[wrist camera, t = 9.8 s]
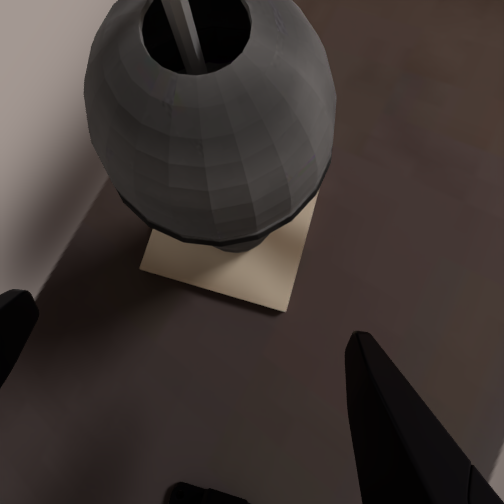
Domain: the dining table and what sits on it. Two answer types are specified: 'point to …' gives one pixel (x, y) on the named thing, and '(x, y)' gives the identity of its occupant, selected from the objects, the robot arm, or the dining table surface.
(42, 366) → the dining table surface
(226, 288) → the coaster board
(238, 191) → the beverage cup
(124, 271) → the dining table surface
